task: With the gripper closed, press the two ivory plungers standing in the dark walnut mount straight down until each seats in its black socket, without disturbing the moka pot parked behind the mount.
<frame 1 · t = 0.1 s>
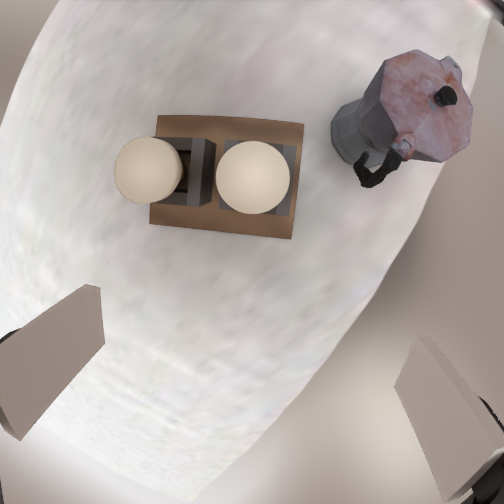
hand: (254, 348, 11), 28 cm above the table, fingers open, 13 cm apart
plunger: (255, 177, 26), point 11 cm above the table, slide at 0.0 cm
moka pot: (362, 137, 34), on the table
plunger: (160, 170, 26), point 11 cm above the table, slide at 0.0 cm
mount: (225, 173, 36), on the table
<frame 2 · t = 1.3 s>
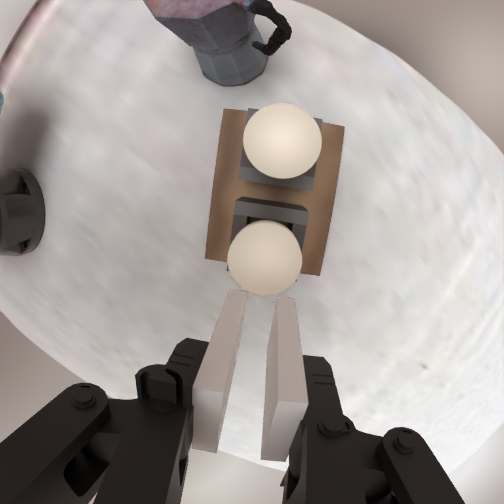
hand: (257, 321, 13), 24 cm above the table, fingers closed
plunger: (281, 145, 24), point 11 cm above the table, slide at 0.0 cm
moka pot: (236, 57, 31), on the table
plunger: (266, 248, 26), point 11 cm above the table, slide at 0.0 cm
mount: (273, 190, 35), on the table
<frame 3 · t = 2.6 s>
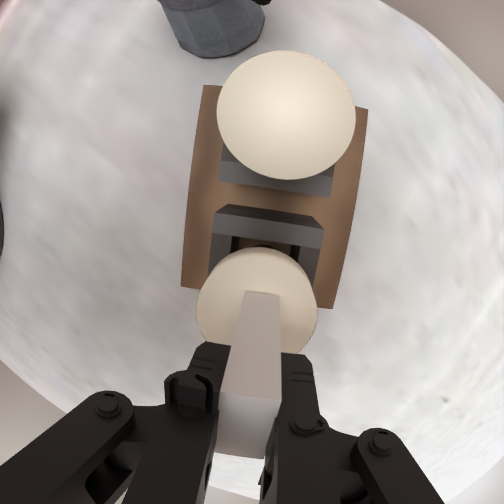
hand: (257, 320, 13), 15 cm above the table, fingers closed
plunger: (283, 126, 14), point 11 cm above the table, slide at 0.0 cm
moka pot: (223, 24, 22), on the table
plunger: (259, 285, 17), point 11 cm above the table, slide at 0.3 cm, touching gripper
mount: (272, 195, 26), on the table
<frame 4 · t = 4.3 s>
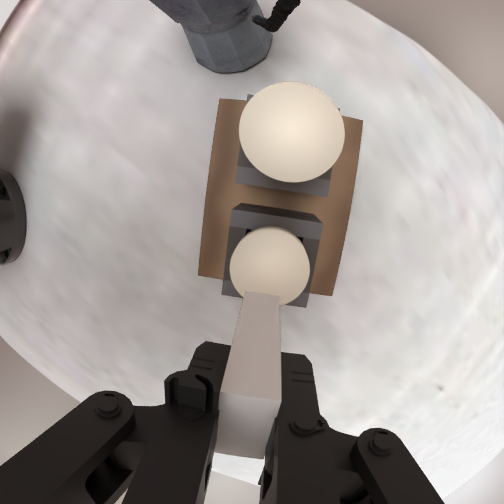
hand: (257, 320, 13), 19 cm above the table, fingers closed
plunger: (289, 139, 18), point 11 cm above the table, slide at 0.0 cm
moka pot: (235, 41, 26), on the table
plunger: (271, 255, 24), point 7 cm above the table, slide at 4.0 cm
mount: (279, 195, 30), on the table
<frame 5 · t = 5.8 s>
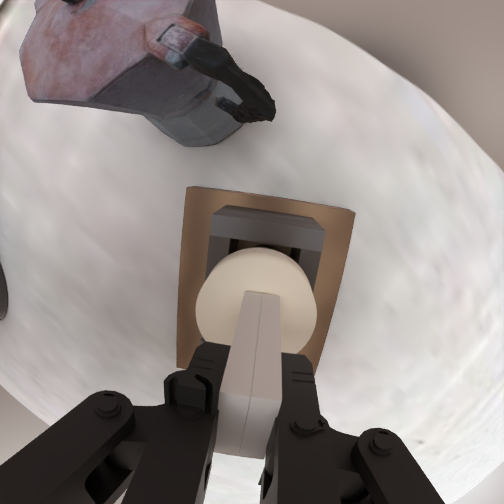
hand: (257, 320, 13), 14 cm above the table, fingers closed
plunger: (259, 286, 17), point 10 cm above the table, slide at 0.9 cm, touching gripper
moka pot: (206, 101, 24), on the table
mount: (257, 291, 28), on the table
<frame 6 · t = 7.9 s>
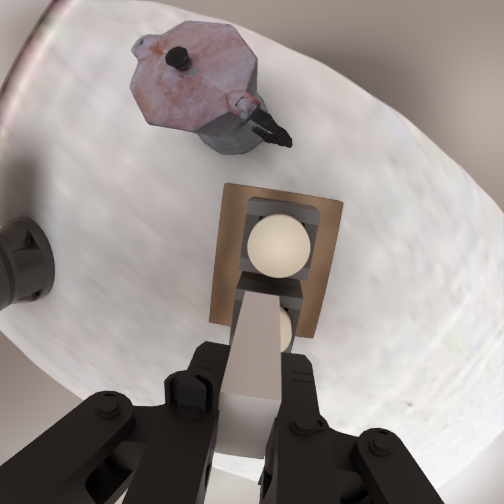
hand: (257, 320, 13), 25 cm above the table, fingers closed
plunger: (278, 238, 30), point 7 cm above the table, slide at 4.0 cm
moka pot: (236, 121, 34), on the table
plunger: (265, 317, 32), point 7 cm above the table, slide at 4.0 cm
mount: (272, 261, 38), on the table
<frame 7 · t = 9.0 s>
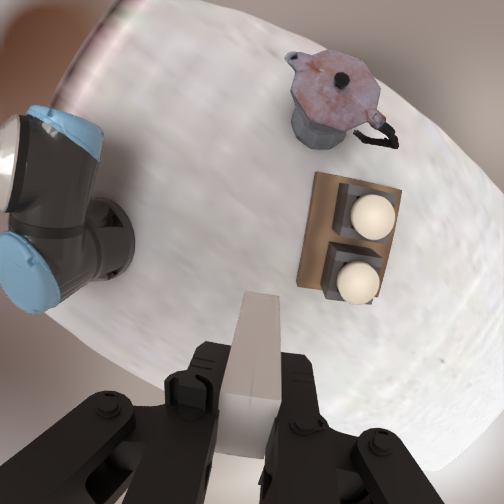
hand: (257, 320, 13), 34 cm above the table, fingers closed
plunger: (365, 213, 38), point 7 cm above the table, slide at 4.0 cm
moka pot: (321, 123, 42), on the table
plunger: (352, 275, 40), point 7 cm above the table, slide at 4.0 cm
mount: (347, 235, 46), on the table
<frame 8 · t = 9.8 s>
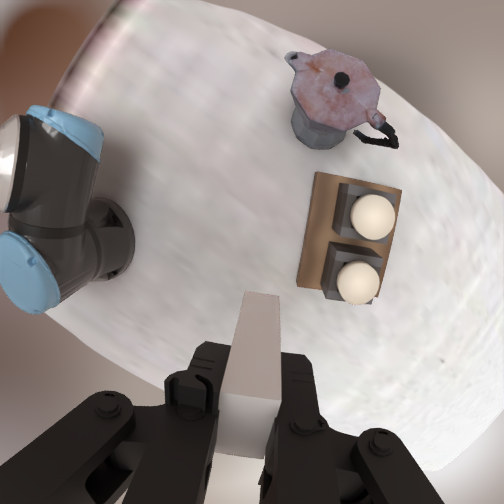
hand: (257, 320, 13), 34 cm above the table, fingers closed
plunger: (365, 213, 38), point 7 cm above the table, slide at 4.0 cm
moka pot: (321, 123, 42), on the table
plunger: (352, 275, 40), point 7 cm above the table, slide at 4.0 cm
mount: (347, 235, 46), on the table
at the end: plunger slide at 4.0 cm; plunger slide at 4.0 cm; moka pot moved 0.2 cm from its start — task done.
